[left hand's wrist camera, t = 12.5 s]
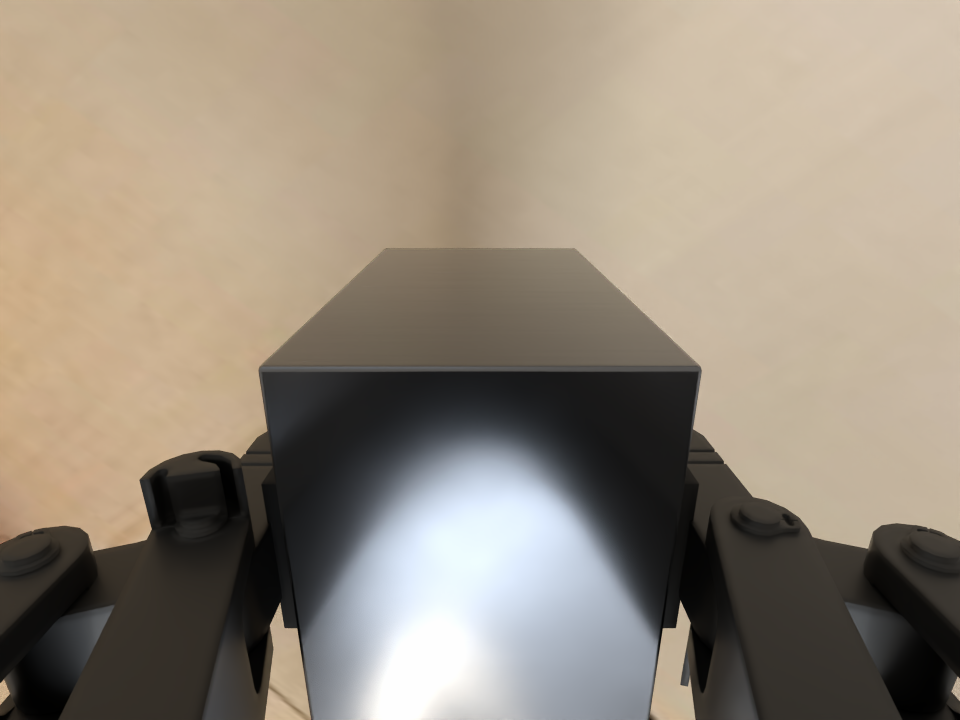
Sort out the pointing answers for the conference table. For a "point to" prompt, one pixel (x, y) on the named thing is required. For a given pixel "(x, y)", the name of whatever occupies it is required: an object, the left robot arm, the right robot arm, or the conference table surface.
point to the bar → (480, 488)
